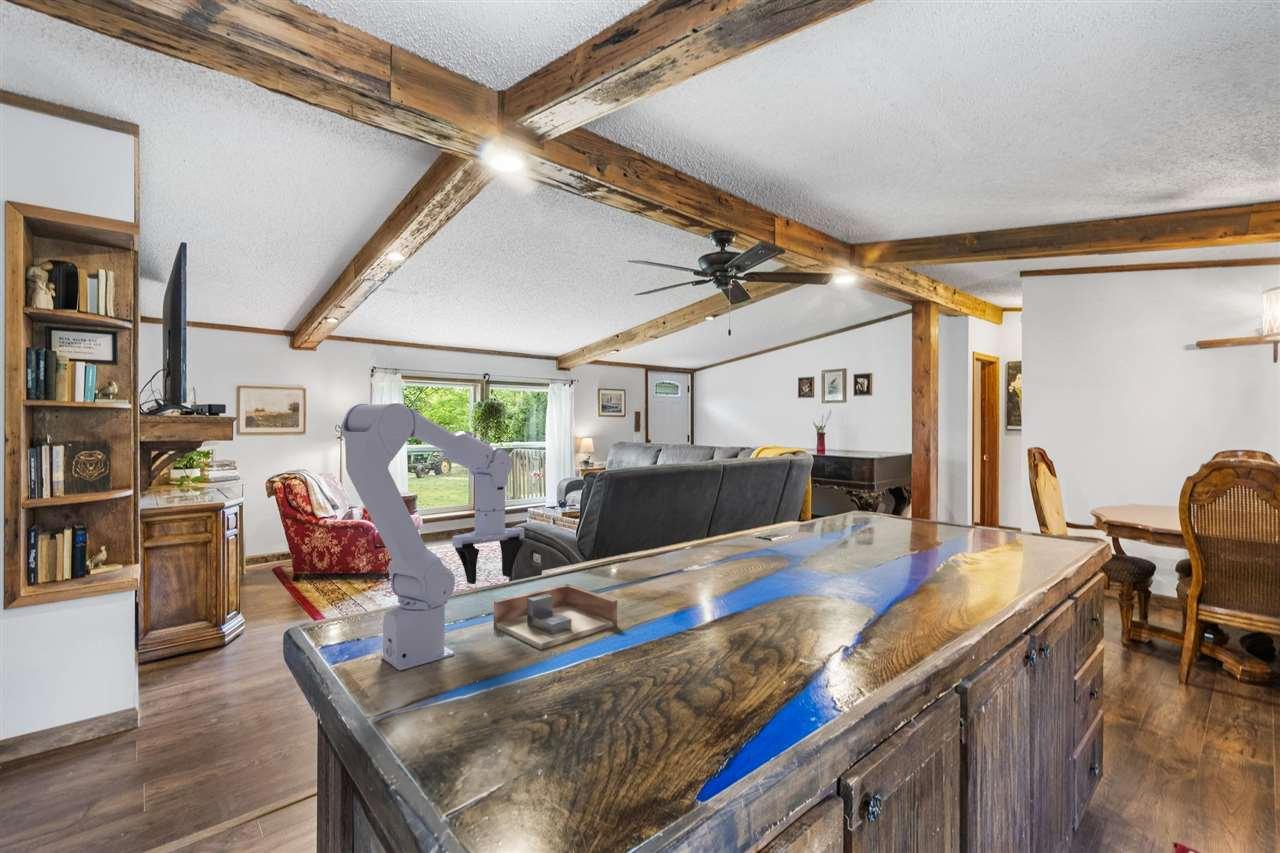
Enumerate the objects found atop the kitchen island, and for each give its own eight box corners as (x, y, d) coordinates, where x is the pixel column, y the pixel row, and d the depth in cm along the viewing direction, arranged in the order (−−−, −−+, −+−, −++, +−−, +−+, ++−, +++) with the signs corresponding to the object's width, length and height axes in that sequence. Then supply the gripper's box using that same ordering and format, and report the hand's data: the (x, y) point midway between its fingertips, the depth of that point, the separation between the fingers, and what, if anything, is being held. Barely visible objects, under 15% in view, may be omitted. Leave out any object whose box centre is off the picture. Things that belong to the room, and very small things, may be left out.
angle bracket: (527, 624, 111) (527, 598, 111) (546, 619, 115) (546, 593, 115) (551, 635, 106) (551, 608, 106) (571, 629, 109) (571, 602, 109)
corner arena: (540, 649, 102) (541, 621, 102) (493, 626, 113) (493, 601, 113) (617, 625, 114) (617, 600, 114) (567, 607, 126) (567, 584, 126)
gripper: (465, 515, 104) (464, 590, 104) (533, 508, 115) (532, 576, 115) (447, 511, 109) (446, 583, 109) (513, 504, 120) (513, 570, 120)
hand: (489, 579), depth 112 cm, fingers open, 7 cm apart
